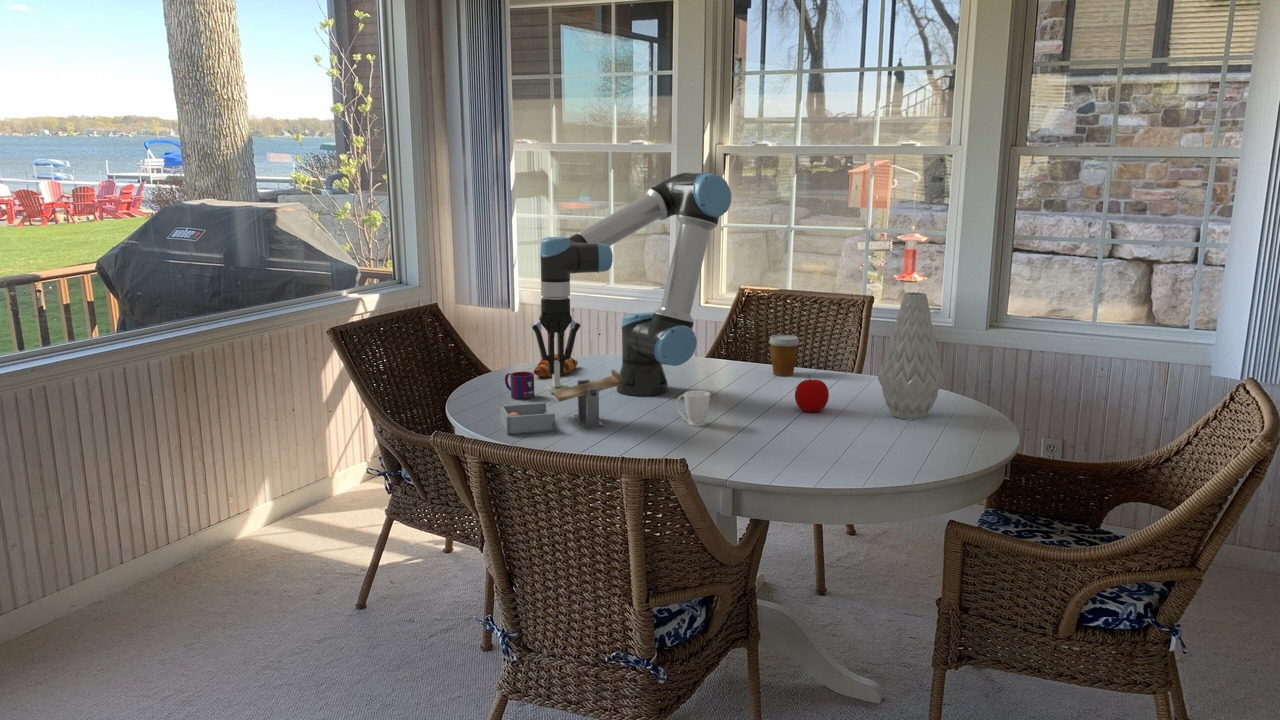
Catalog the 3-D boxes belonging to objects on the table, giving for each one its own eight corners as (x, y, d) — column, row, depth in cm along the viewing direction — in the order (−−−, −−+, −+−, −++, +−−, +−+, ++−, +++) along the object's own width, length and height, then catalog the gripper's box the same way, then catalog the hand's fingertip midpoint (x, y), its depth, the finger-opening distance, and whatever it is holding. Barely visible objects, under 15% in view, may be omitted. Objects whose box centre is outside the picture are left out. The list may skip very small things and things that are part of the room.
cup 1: (521, 401, 270) (520, 377, 269) (499, 395, 277) (498, 372, 276) (539, 396, 275) (538, 373, 274) (517, 391, 282) (516, 368, 281)
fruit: (803, 404, 266) (804, 369, 264) (833, 409, 261) (835, 373, 258) (788, 411, 258) (789, 375, 256) (819, 416, 253) (820, 380, 251)
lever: (608, 373, 259) (607, 364, 258) (622, 384, 246) (621, 374, 245) (546, 389, 255) (544, 380, 254) (557, 402, 242) (555, 392, 241)
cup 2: (700, 429, 242) (700, 398, 240) (668, 422, 248) (668, 392, 246) (715, 423, 247) (716, 392, 246) (684, 416, 253) (685, 387, 252)
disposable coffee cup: (800, 377, 298) (801, 339, 296) (769, 377, 298) (770, 339, 296) (796, 371, 308) (797, 334, 305) (766, 371, 308) (767, 334, 305)
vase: (872, 421, 249) (878, 296, 242) (879, 406, 264) (885, 288, 257) (939, 427, 243) (947, 299, 236) (943, 411, 258) (950, 290, 252)
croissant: (569, 376, 317) (560, 354, 317) (591, 365, 311) (582, 343, 312) (529, 387, 299) (519, 364, 300) (551, 376, 293) (541, 352, 294)
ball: (513, 408, 244) (502, 417, 244) (515, 411, 241) (505, 421, 240) (522, 417, 245) (511, 427, 245) (525, 421, 242) (514, 431, 242)
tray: (545, 418, 252) (545, 402, 251) (555, 431, 240) (554, 413, 239) (500, 422, 248) (499, 405, 247) (507, 435, 237) (507, 417, 236)
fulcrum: (592, 415, 255) (591, 378, 253) (603, 426, 244) (603, 388, 242) (573, 416, 254) (573, 380, 252) (584, 428, 242) (583, 390, 240)
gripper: (576, 294, 253) (576, 381, 258) (528, 296, 249) (529, 384, 254) (583, 298, 246) (583, 387, 250) (533, 299, 242) (534, 390, 247)
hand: (556, 385), depth 252 cm, fingers closed
